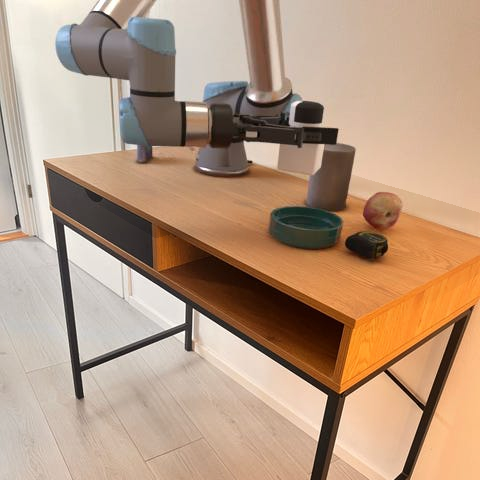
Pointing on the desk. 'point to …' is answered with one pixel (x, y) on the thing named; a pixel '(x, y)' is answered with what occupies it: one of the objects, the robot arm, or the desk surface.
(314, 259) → the desk surface
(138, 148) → the flask
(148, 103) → the robot arm
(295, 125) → the medicine bottle
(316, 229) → the bowl
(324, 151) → the pillar candle
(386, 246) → the tape measure
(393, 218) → the fruit
